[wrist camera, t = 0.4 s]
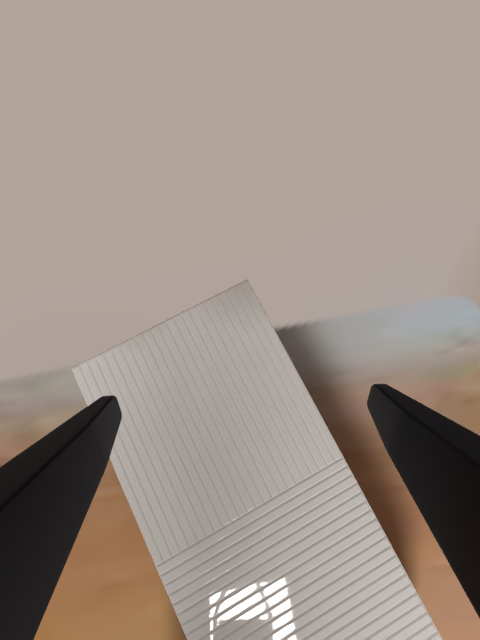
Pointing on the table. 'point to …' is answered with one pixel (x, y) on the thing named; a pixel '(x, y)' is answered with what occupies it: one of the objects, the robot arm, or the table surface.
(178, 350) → the ridged white long block
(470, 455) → the robot arm
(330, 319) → the table surface
